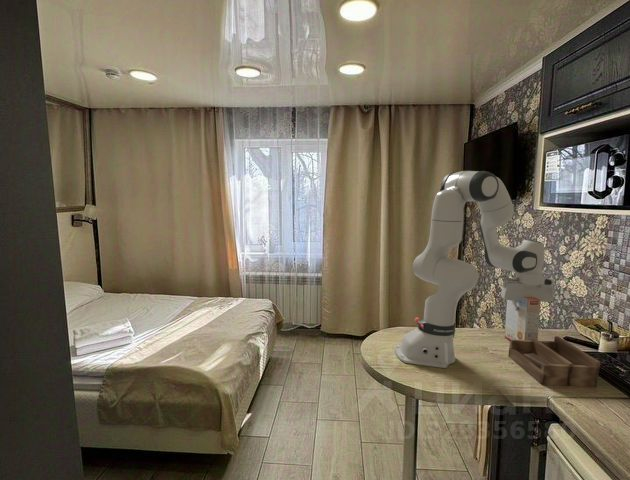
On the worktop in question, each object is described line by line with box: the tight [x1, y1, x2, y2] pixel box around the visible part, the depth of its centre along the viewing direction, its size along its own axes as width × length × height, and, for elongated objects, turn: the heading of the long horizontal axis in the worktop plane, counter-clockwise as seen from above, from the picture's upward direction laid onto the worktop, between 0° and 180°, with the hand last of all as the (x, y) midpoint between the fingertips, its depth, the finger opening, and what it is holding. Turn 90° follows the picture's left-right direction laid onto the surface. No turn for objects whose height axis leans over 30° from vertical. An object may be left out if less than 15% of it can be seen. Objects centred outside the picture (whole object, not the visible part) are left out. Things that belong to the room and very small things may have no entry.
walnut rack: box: [507, 335, 601, 388], centre depth 122 cm, size 18×20×10 cm
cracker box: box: [504, 297, 542, 341], centre depth 146 cm, size 14×6×21 cm, turn 1°
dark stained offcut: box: [523, 353, 552, 369], centre depth 123 cm, size 4×8×2 cm, turn 15°
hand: (524, 310), depth 145 cm, fingers closed on cracker box, 6 cm apart
